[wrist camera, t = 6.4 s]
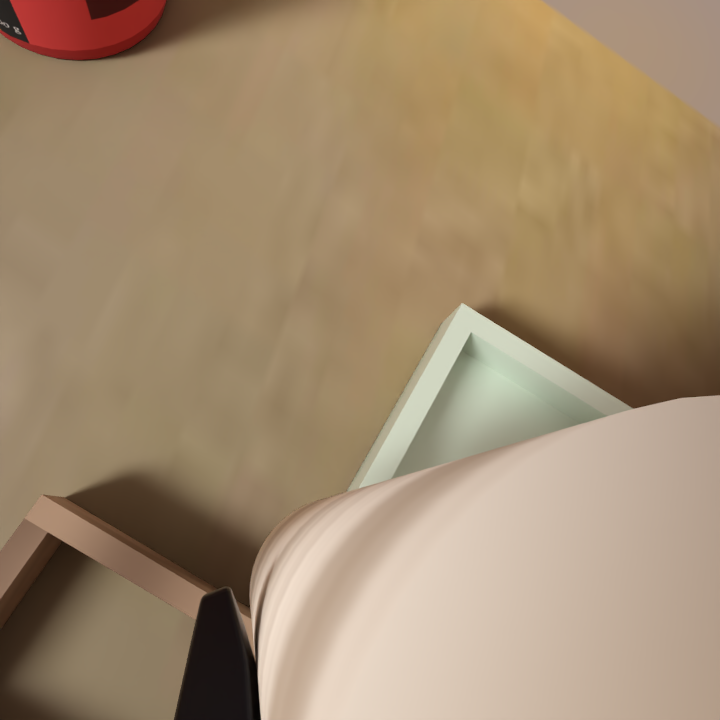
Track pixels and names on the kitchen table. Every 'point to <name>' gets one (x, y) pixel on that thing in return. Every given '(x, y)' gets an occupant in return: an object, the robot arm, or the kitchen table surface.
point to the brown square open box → (102, 543)
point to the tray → (478, 400)
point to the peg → (507, 583)
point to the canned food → (78, 25)
